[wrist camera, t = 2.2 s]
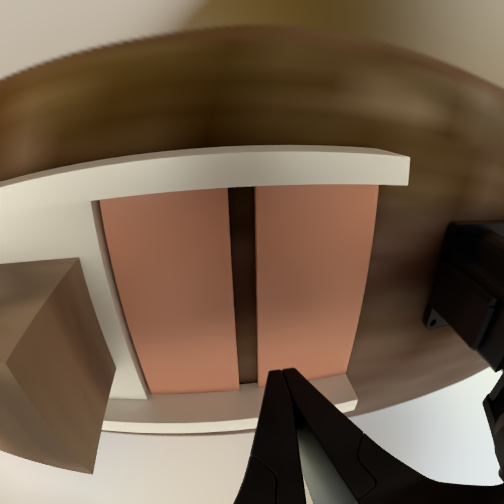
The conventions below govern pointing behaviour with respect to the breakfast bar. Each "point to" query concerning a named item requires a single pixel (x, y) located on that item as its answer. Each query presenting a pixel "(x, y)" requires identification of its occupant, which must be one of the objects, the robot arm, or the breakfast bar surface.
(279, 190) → the trap channel
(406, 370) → the breakfast bar surface
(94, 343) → the walnut block
